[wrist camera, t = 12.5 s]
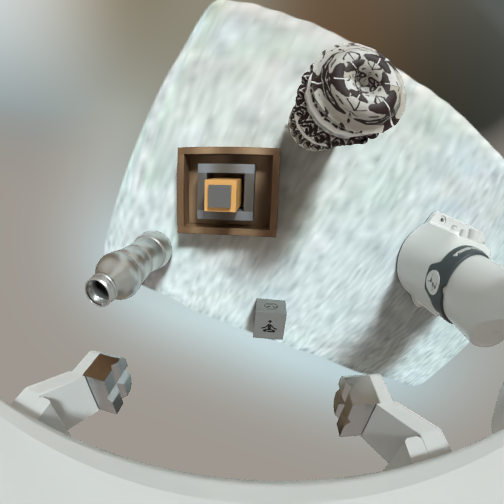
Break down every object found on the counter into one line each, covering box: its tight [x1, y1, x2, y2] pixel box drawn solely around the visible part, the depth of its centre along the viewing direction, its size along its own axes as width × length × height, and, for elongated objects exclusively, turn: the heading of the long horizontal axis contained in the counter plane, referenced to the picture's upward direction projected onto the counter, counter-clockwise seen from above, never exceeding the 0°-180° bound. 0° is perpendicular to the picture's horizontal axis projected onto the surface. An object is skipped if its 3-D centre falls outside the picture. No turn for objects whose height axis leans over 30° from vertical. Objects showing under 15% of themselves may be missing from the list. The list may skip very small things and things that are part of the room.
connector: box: [204, 177, 243, 212], centre depth 39 cm, size 4×4×10 cm
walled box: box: [177, 147, 280, 237], centre depth 41 cm, size 15×13×5 cm
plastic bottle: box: [85, 231, 172, 307], centre depth 38 cm, size 6×7×20 cm
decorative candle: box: [289, 43, 406, 152], centre depth 28 cm, size 9×9×25 cm
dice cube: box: [253, 298, 287, 340], centre depth 47 cm, size 5×5×5 cm
